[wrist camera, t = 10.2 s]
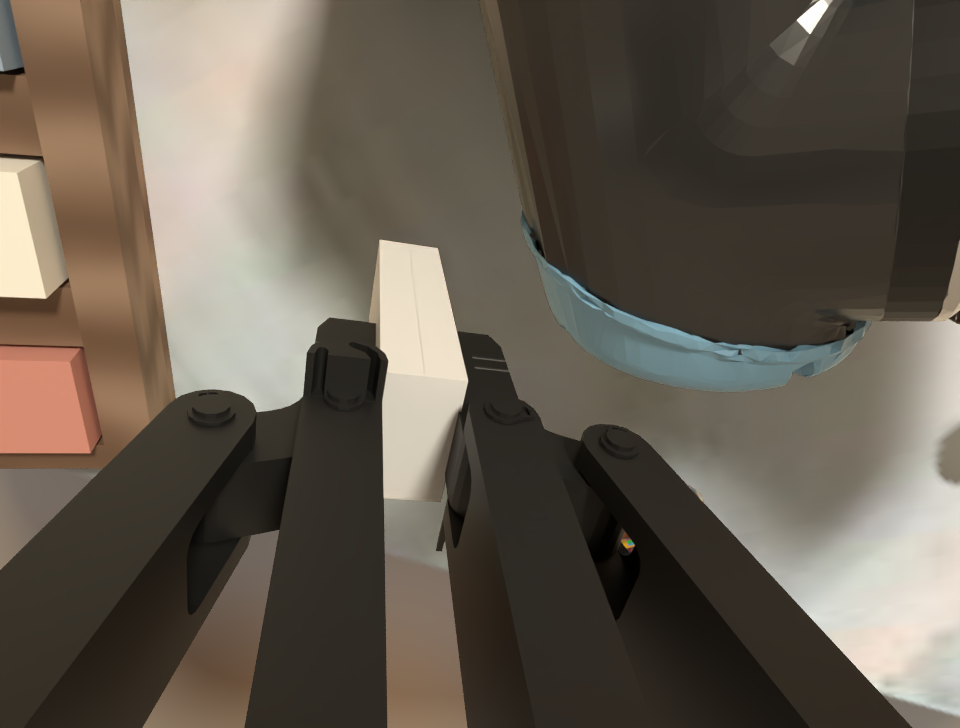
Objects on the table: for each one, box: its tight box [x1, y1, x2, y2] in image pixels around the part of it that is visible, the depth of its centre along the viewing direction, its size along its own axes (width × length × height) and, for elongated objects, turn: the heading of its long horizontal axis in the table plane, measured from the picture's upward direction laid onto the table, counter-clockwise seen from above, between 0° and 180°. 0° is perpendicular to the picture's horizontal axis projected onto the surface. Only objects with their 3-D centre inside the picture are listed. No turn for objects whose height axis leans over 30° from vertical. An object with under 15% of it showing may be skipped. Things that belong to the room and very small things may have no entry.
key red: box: [0, 344, 102, 453], centre depth 36 cm, size 6×6×4 cm
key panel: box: [0, 0, 176, 468], centre depth 33 cm, size 30×12×5 cm, turn 173°
